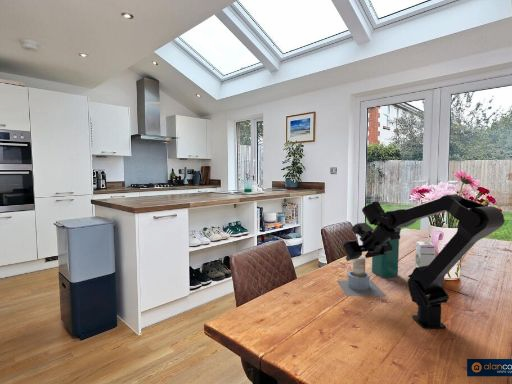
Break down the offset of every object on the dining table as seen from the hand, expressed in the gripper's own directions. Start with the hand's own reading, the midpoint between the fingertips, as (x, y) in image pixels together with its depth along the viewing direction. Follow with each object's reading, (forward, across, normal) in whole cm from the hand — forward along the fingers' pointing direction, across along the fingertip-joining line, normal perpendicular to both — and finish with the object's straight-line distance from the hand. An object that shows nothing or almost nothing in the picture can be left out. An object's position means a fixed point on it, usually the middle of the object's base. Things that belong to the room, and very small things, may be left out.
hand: (356, 258), depth 112 cm
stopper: (+6, 0, +8) cm, 10 cm away
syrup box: (+4, -31, +11) cm, 34 cm away
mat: (+5, +1, +10) cm, 11 cm away
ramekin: (+6, 0, +8) cm, 10 cm away
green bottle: (+11, -20, +4) cm, 24 cm away
